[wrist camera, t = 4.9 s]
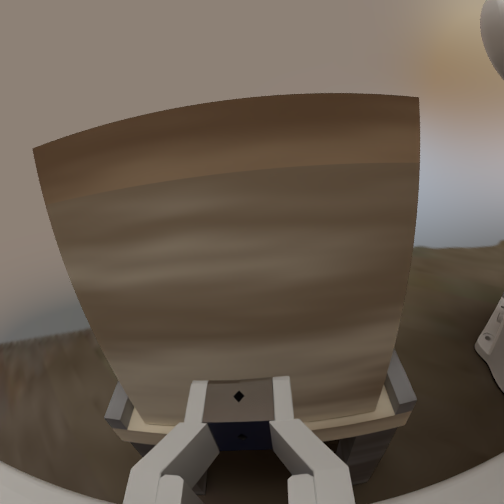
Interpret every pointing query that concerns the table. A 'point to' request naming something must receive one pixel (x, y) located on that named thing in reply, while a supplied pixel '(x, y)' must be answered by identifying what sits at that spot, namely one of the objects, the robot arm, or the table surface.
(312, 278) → the wood grain block
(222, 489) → the table surface
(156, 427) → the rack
